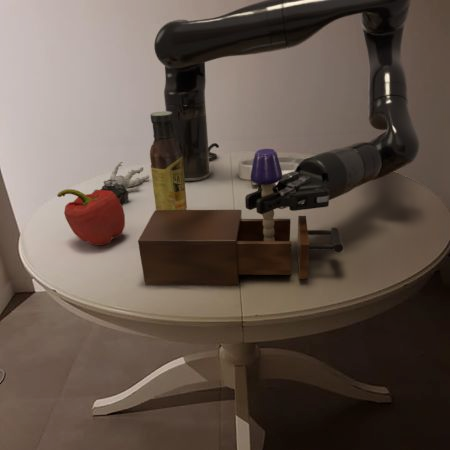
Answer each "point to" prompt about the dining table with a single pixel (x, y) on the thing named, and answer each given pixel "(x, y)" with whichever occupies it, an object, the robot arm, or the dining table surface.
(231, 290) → the dining table surface
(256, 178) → the toy lamp
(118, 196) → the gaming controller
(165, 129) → the sauce bottle
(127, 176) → the grey branched piece
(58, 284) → the dining table surface
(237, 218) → the cabinet
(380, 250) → the dining table surface
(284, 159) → the white brass knuckles
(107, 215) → the vegetable
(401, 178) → the dining table surface
